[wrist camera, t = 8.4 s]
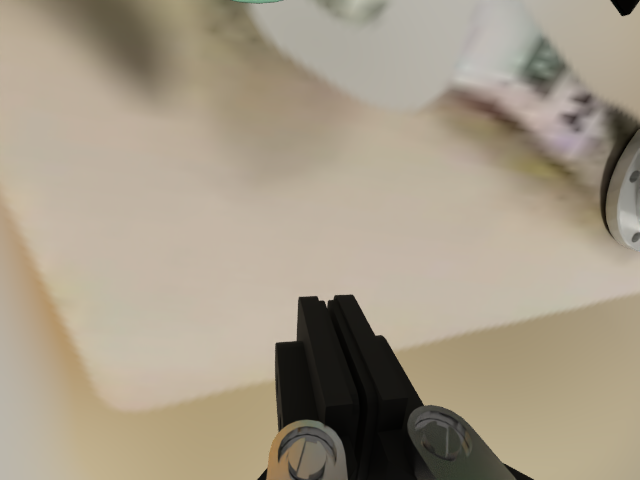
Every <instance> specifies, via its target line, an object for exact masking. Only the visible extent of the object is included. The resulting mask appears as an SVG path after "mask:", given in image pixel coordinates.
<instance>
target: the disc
mask: <svg viewBox="0 0 640 480" xmlns="http://www.w3.org/2000/svg"><path fill="white" fill-rule="evenodd" d="M232 1H237V2H242V3H257V4H260V3H270V2H278V1H282V0H232Z"/></svg>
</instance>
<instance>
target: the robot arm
mask: <svg viewBox="0 0 640 480" xmlns="http://www.w3.org/2000/svg"><path fill="white" fill-rule="evenodd" d="M606 220H607V224H608V227H609V230H610V232H611V234H612V236H613V237H614V239H615V240H616V241H617V242H618V243H620V244H621V245H622V246H625V247H627V248H630V249H632V250H635V251H638V252H640V129H639V130H638V131H637V132H636V134H635V135H634V136H633V138H632V139H631V141H630V142H629V143H628V145H627V146H626V148H625V150H624V152H623V153H622V155H621V157H620V159H619V161H618V162H617V165H616V167H615V170H614V172H613V175H612V177H611V180H610V184H609V188H608V192H607V199H606ZM275 381H276V401H277V414H278V430H279V433H278V434H277V436H276V437H275V439H274V440H273V442H272V445H271V449H270V453H269V461H268V468H267V469H266V470H265V471H264V472H263V474H262V475H261V476H260V477H259V478H258V480H534V479H532V478H530V477H528V476H526V475H524V474H522V473H520V472H519V471H517V470H515V469H513V468H511V467H509V466H508V465H506V464H504V463H502V462H501V461H500V460H499V458H498V457H497V456H496V455H495V454H494V453H493V452H492V450H491V449H490V448H489V447H488V446H487V445H486V443H485V442H484V441H483V440H482V439H481V437H480V436H479V435H478V434H477V433H476V432H475V430H474V429H473V428H472V427H471V426H470V425H469V424H468V423H467V422H466V421H465V420H464V419H463V418H462V417H460V416H459V415H457V414H456V413H454V412H452V411H451V410H448V409H446V408H443V407H439V406H433V405H428V406H424V405H423V403H422V401H421V399H420V398H419V396H418V394H417V392H416V391H415V389H414V387H413V386H412V384H411V382H410V380H409V379H408V377H407V375H406V374H405V372H404V370H403V368H402V367H401V365H400V363H399V361H398V360H397V358H396V356H395V354H394V353H393V351H392V349H391V347H390V346H389V344H388V342H387V340H386V339H385V338H384V336H382V335H378V336H375V334H374V332H373V331H372V329H371V327H370V325H369V323H368V321H367V319H366V318H365V316H364V314H363V312H362V310H361V308H360V306H359V305H358V303H357V301H356V299H355V297H354V296H353V295H335V296H334V300H329V301H328V306H327V307H326V304H325V302H324V301H319V300H318V297H317V296H310V297H299V300H298V320H297V341H293V342H279V343H276V346H275Z"/></svg>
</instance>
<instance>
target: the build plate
mask: <svg viewBox="0 0 640 480" xmlns="http://www.w3.org/2000/svg"><path fill="white" fill-rule="evenodd" d="M610 1H611V2H612V4H613V5H614V6H615V8H616V9H617V10H618V12H619V13H620V15H621V16H626V15H629V14H631V12H632V11H633V10H634V8H635V7H636V5H637V4H638V2H639V1H640V0H610Z"/></svg>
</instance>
